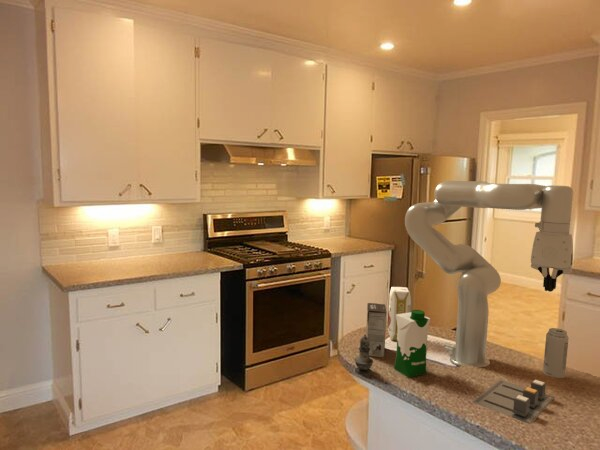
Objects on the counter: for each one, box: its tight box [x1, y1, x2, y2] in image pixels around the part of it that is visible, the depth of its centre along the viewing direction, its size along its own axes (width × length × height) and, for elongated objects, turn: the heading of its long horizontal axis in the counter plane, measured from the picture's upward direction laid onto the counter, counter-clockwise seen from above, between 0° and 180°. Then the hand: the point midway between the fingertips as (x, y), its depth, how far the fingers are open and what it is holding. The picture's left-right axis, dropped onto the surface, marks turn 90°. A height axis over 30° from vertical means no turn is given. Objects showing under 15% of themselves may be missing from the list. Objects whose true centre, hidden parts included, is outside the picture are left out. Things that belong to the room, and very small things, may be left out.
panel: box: [471, 379, 556, 425], centre depth 124 cm, size 15×20×1 cm
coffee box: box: [365, 302, 387, 358], centre depth 158 cm, size 9×6×16 cm
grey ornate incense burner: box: [354, 334, 374, 376], centre depth 142 cm, size 6×6×12 cm
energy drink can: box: [542, 327, 569, 379], centre depth 141 cm, size 6×6×15 cm
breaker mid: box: [523, 386, 539, 408], centre depth 121 cm, size 3×4×4 cm
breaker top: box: [530, 379, 547, 400], centre depth 125 cm, size 3×4×4 cm
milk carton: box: [394, 309, 432, 378], centre depth 142 cm, size 9×9×20 cm
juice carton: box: [387, 286, 412, 341], centre depth 172 cm, size 8×9×19 cm
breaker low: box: [512, 395, 530, 417], centre depth 116 cm, size 3×4×4 cm
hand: (549, 290), depth 133 cm, fingers closed
